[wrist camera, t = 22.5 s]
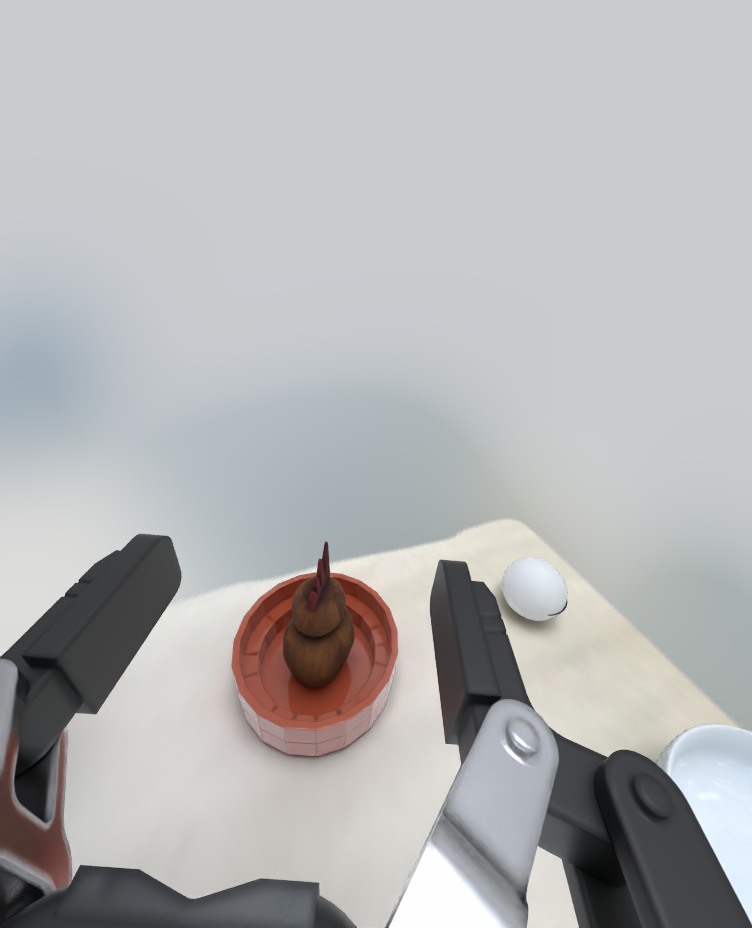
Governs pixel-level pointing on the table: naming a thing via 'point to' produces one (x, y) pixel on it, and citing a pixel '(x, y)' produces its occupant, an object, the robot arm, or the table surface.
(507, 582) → the white oval solid
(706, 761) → the cereal bowl
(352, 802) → the table surface
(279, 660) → the bowl
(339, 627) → the wooden figurine
